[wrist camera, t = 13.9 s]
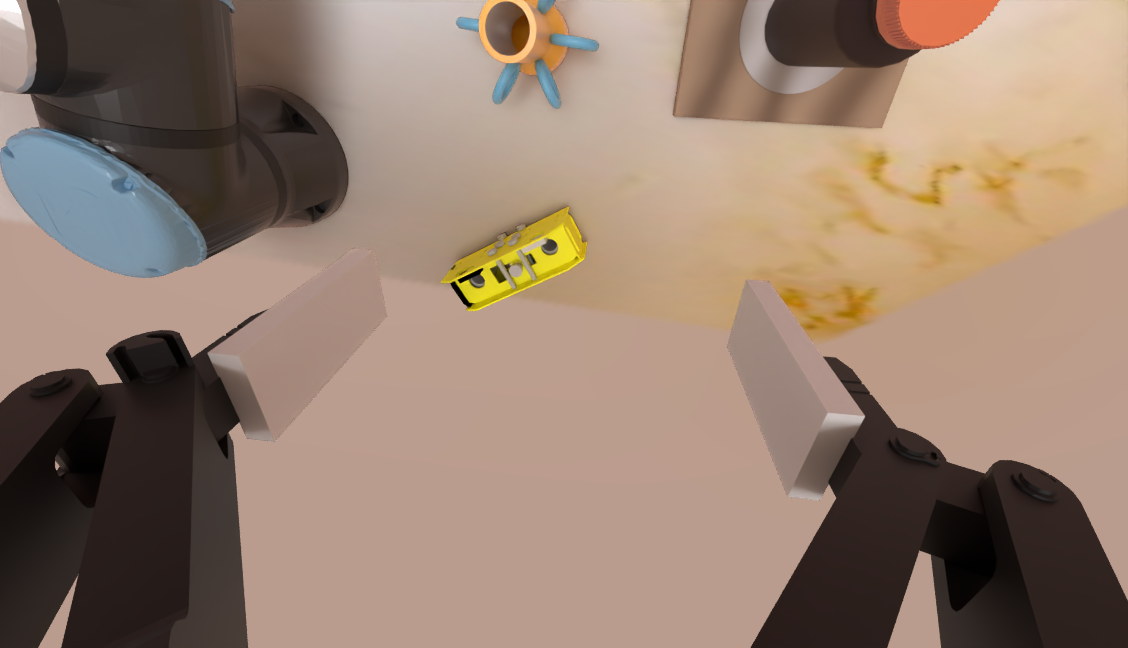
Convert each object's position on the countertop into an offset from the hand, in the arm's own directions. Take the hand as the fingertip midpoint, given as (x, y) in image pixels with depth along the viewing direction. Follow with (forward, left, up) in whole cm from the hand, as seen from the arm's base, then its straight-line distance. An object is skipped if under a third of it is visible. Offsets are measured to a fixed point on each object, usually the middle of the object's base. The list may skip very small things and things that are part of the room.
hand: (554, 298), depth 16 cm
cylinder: (-6, +9, -37) cm, 38 cm away
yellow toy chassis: (-8, -13, -37) cm, 40 cm away
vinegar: (+18, +11, -35) cm, 41 cm away
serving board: (+18, +11, -37) cm, 42 cm away
